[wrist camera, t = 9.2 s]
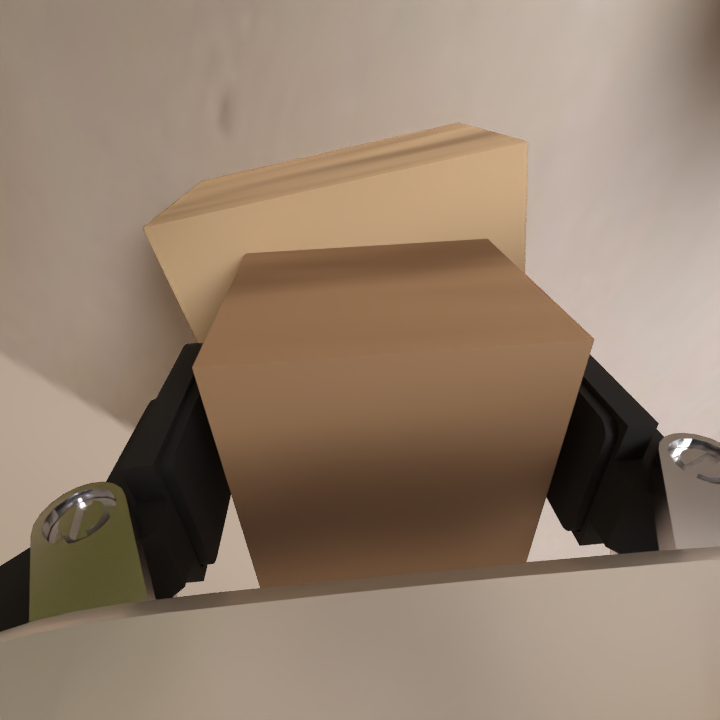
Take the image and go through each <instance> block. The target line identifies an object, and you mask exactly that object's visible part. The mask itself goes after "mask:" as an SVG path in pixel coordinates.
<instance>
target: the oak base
mask: <svg viewBox="0 0 720 720" xmlns="http://www.w3.org/2000/svg"><path fill="white" fill-rule="evenodd" d="M527 162H528V142H527V141H524V140H520V139H516V138H513V137H509V136H506V135H502V134H498V133H495V132H491V131H487V130H484V129H480V128H476V127H473V126H469V125H465V124H462V123H455V124H450V125H446V126H441V127H437V128H433V129H428V130H424V131H419V132H415V133H411V134H406V135H402V136H397V137H393V138H389V139H384V140H380V141H375V142H371V143H367V144H362V145H358V146H353V147H349V148H345V149H340V150H336V151H331V152H327V153H323V154H318V155H314V156H309V157H305V158H301V159H296V160H292V161H287V162H283V163H279V164H274V165H270V166H265V167H261V168H257V169H252V170H248V171H243V172H239V173H235V174H230V175H226V176H221V177H217V178H213V179H208V180H204V181H201V182H200V183H199V184H197V185H196V186H195V187H194V188H192V189H191V190H190V191H189V192H187V193H186V194H185V195H184V196H182V197H181V198H180V199H178V200H177V201H176V202H175V203H173V204H172V205H171V206H170V207H168V208H167V209H166V210H165V211H163V212H162V213H161V214H160V215H158V216H157V217H156V218H154V219H153V220H152V221H151V222H149V223H148V224H147V225H146V226H144V227H143V230H144V232H145V234H146V236H147V238H148V240H149V242H150V244H151V246H152V249H153V251H154V253H155V255H156V257H157V259H158V261H159V263H160V265H161V267H162V269H163V272H164V274H165V276H166V278H167V280H168V282H169V284H170V286H171V288H172V290H173V292H174V294H175V297H176V299H177V301H178V303H179V305H180V307H181V309H182V311H183V313H184V315H185V317H186V320H187V322H188V324H189V326H190V328H191V330H192V332H193V334H194V336H195V338H196V340H197V343H204V341H205V339H206V337H207V335H208V333H209V330H210V328H211V326H212V324H213V322H214V320H215V318H216V316H217V313H218V311H219V309H220V307H221V305H222V303H223V301H224V299H225V296H226V294H227V292H228V290H229V288H230V286H231V284H232V282H233V279H234V277H235V275H236V273H237V271H238V269H239V267H240V265H241V262H242V260H243V258H244V256H245V254H246V253H261V252H277V251H293V250H310V249H326V248H343V247H359V246H375V245H392V244H408V243H425V242H441V241H457V240H474V239H488V240H490V241H491V242H492V243H493V244H494V245H495V246H496V247H497V248H498V249H499V250H500V251H501V252H502V253H503V254H504V255H505V256H507V257H508V258H509V259H510V260H511V261H512V262H513V263H514V264H515V265H516V266H517V267H518V268H519V269H520V270H521V271H522V272H524V273H525V247H526V204H527Z"/></svg>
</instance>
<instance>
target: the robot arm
mask: <svg viewBox="0 0 720 720" xmlns="http://www.w3.org/2000/svg"><path fill="white" fill-rule="evenodd" d="M202 345H203V343H193V344H186V345H185V346H184V347H183V349H182V351H181V353H180V355H179V357H178V359H177V361H176V363H175V364H174V366H173V368H172V370H171V372H170V374H169V376H168V378H167V379H166V381H165V383H164V385H163V387H162V389H161V391H160V393H159V395H158V396H157V398H156V399H154V400H152V401H151V402H150V403H149V404H148V406H147V408H146V410H145V412H144V413H143V415H142V417H141V419H140V421H139V422H138V424H137V426H136V428H135V430H134V432H133V433H132V435H131V437H130V439H129V441H128V443H127V445H126V447H125V448H124V450H123V452H122V454H121V456H120V457H119V459H118V461H117V463H116V465H115V467H114V468H113V471H112V472H111V474H110V476H109V478H108V479H107V481H106V482H97V483H90V484H86V485H83V486H80V487H77V488H75V489H73V490H71V491H69V492H67V493H65V494H63V495H62V496H60V497H59V498H58V499H56V500H55V501H53V502H52V503H51V504H50V505H49V506H48V507H47V508H46V509H45V510H44V511H43V512H42V513H41V514H40V515H39V517H38V519H37V520H36V522H35V523H34V525H33V529H32V533H31V547H30V548H28V549H27V550H25V551H24V552H22V553H21V554H19V555H17V556H16V557H14V558H13V559H11V560H9V561H8V562H6V563H4V564H3V565H1V566H0V720H720V443H719V442H717V441H715V440H713V439H710V438H707V437H703V436H700V435H695V434H688V433H676V434H671V435H668V436H665V437H664V436H663V435H662V434H661V433H660V432H659V431H658V430H657V429H656V428H657V426H658V424H659V423H658V422H657V421H656V420H655V419H654V418H653V417H652V416H651V415H650V414H649V413H648V412H647V411H646V410H645V409H644V408H643V407H642V406H641V405H640V404H639V403H638V402H637V401H636V400H635V399H634V398H633V397H632V396H631V395H630V394H629V393H628V392H627V391H626V390H625V389H624V388H623V387H622V386H621V385H620V384H619V383H618V382H617V381H616V380H615V379H614V378H613V377H612V376H611V375H610V374H609V373H608V372H607V371H606V370H605V369H604V368H603V367H602V366H601V365H600V364H599V363H598V362H597V361H596V360H595V359H594V358H593V357H592V356H591V355H589V358H588V362H587V365H586V368H585V371H584V375H583V378H582V381H581V384H580V388H579V391H578V394H577V398H576V401H575V404H574V407H573V411H572V414H571V417H570V420H569V424H568V427H567V430H566V434H565V437H564V440H563V443H562V447H561V450H560V453H559V456H558V460H557V463H556V466H555V470H554V473H553V476H552V479H551V483H550V486H549V489H548V492H547V496H546V497H547V499H548V501H549V503H550V504H551V506H552V508H553V510H554V512H555V514H556V515H557V517H558V519H559V521H560V523H561V525H562V526H563V528H564V529H565V530H567V531H572V533H573V535H574V536H575V538H576V540H577V542H578V544H579V545H591V544H602V543H604V544H605V546H606V547H607V548H609V549H610V555H604V556H593V557H582V558H570V559H559V560H548V561H537V562H526V563H515V564H504V565H494V566H483V567H473V568H462V569H451V570H441V571H430V572H420V573H410V574H399V575H389V576H378V577H368V578H358V579H348V580H338V581H328V582H318V583H308V584H298V585H288V586H278V587H268V588H258V589H250V590H238V591H229V592H219V593H209V594H201V595H192V596H184V597H177V595H176V594H177V593H178V592H179V591H180V590H181V589H183V588H184V587H185V584H186V583H187V582H198V581H204V577H205V573H206V569H207V565H208V564H213V563H215V561H216V558H217V554H218V550H219V545H220V540H221V536H222V532H223V527H224V523H225V518H226V514H227V510H228V505H229V500H230V496H231V492H230V489H229V485H228V482H227V479H226V476H225V472H224V469H223V466H222V463H221V459H220V456H219V453H218V450H217V447H216V443H215V440H214V437H213V434H212V430H211V427H210V424H209V421H208V418H207V414H206V411H205V408H204V405H203V401H202V398H201V395H200V392H199V389H198V385H197V382H196V379H195V376H194V372H193V369H192V367H193V364H194V362H195V360H196V358H197V356H198V354H199V352H200V350H201V347H202Z"/></svg>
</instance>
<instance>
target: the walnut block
mask: <svg viewBox="0 0 720 720" xmlns="http://www.w3.org/2000/svg"><path fill="white" fill-rule="evenodd" d="M593 342H594V338H593V337H591V336H590V335H589V334H588V333H587V332H586V331H585V330H584V329H583V328H582V327H581V326H580V325H579V324H578V323H577V322H576V321H574V320H573V319H572V318H571V317H570V316H569V315H568V314H567V313H566V312H565V311H564V310H563V309H562V308H561V307H560V306H559V305H557V304H556V303H555V302H554V301H553V300H552V299H551V298H550V297H549V296H548V295H547V294H546V293H545V292H544V291H543V290H542V289H541V288H539V287H538V286H537V285H536V284H535V283H534V282H533V281H532V280H531V279H530V278H529V277H528V276H527V275H526V274H525V273H524V272H522V271H521V270H520V269H519V268H518V267H517V266H516V265H515V264H514V263H513V262H512V261H511V260H510V259H509V258H508V257H507V256H505V255H504V254H503V253H502V252H501V251H500V250H499V249H498V248H497V247H496V246H495V245H494V244H493V243H492V242H491V241H490V240H488V239H474V240H457V241H441V242H425V243H408V244H392V245H375V246H359V247H343V248H326V249H310V250H293V251H277V252H261V253H246V254H245V256H244V258H243V260H242V262H241V265H240V267H239V269H238V271H237V273H236V275H235V277H234V279H233V282H232V284H231V286H230V288H229V290H228V292H227V294H226V296H225V299H224V301H223V303H222V305H221V307H220V309H219V311H218V313H217V316H216V318H215V320H214V322H213V324H212V326H211V328H210V330H209V333H208V335H207V337H206V339H205V341H204V343H203V345H202V347H201V350H200V352H199V354H198V356H197V358H196V360H195V362H194V364H193V367H192V369H193V372H194V376H195V379H196V382H197V385H198V389H199V392H200V395H201V398H202V401H203V405H204V408H205V411H206V414H207V418H208V421H209V424H210V427H211V430H212V434H213V437H214V440H215V443H216V447H217V450H218V453H219V456H220V459H221V463H222V466H223V469H224V472H225V476H226V479H227V482H228V485H229V489H230V492H231V495H232V498H233V501H234V505H235V508H236V511H237V514H238V518H239V521H240V524H241V527H242V530H243V534H244V536H245V540H246V543H247V547H248V550H249V553H250V556H251V559H252V562H253V566H254V569H255V572H256V576H257V579H258V582H259V585H260V588H268V587H278V586H288V585H298V584H308V583H318V582H328V581H338V580H348V579H358V578H368V577H378V576H389V575H399V574H410V573H420V572H430V571H441V570H451V569H462V568H473V567H483V566H494V565H504V564H515V563H526V561H527V558H528V555H529V551H530V548H531V545H532V541H533V538H534V535H535V532H536V528H537V525H538V522H539V519H540V515H541V512H542V509H543V506H544V502H545V499H546V496H547V492H548V489H549V486H550V483H551V479H552V476H553V473H554V470H555V466H556V463H557V460H558V456H559V453H560V450H561V447H562V443H563V440H564V437H565V434H566V430H567V427H568V424H569V420H570V417H571V414H572V411H573V407H574V404H575V401H576V398H577V394H578V391H579V388H580V384H581V381H582V378H583V375H584V371H585V368H586V365H587V362H588V358H589V355H590V352H591V349H592V345H593Z"/></svg>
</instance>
